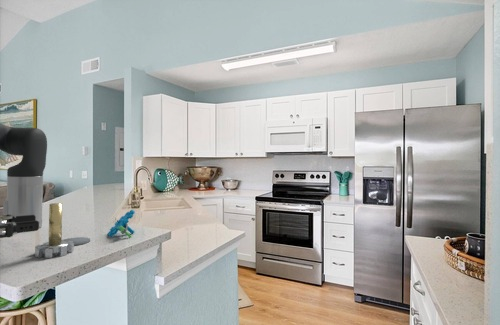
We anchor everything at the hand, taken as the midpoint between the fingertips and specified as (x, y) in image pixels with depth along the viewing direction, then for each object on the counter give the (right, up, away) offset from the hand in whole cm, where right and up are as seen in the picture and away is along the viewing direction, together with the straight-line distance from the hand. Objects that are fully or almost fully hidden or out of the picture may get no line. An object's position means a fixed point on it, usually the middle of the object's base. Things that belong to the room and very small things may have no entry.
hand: (36, 222), depth 65 cm
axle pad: (+1, -8, +11) cm, 14 cm away
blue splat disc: (+11, -9, +20) cm, 24 cm away
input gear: (+3, -8, +2) cm, 9 cm away
